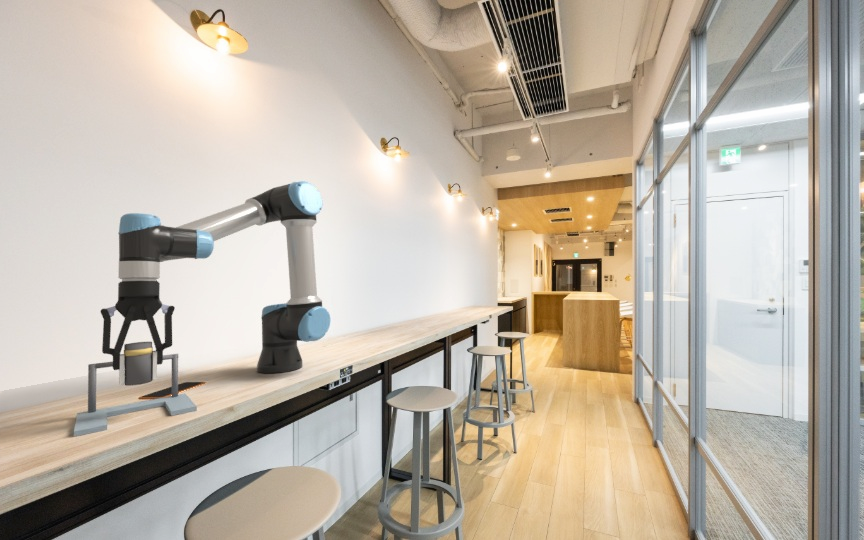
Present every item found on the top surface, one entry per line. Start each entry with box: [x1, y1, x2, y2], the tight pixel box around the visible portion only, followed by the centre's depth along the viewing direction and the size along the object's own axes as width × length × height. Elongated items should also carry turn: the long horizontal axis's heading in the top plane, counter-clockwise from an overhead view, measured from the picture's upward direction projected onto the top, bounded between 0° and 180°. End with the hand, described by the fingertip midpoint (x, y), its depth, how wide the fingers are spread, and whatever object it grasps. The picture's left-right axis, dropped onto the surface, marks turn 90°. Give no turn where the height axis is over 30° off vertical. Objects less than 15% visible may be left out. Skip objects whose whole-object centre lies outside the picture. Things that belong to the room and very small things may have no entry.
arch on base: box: [73, 353, 198, 437], centre depth 86 cm, size 21×16×12 cm
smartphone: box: [138, 381, 207, 400], centre depth 106 cm, size 8×17×1 cm, turn 174°
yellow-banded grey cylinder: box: [123, 341, 154, 387], centre depth 84 cm, size 5×5×9 cm
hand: (138, 381), depth 84 cm, fingers closed on yellow-banded grey cylinder, 5 cm apart
